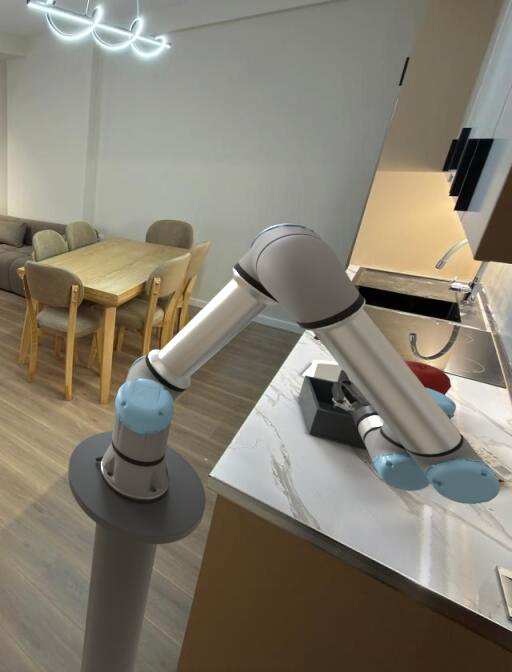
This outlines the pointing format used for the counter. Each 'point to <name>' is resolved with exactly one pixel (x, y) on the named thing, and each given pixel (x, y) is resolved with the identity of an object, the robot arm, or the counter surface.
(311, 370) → the napkin holder
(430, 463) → the robot arm
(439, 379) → the apple
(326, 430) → the storage bin
